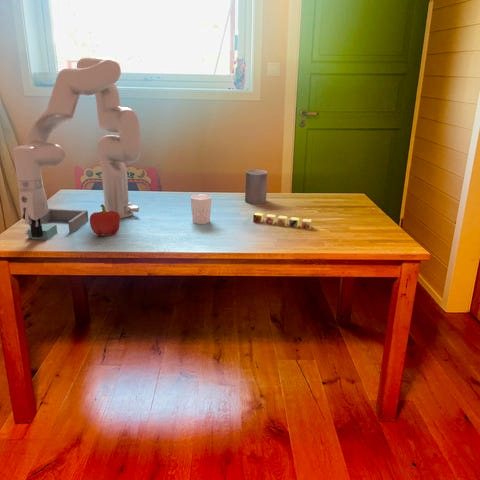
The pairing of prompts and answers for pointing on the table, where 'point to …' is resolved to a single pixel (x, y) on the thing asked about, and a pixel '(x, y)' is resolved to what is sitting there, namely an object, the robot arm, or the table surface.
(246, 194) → the pillar candle
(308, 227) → the row of toy blocks
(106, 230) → the vegetable
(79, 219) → the box
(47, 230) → the teal square block
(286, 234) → the table surface
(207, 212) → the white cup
